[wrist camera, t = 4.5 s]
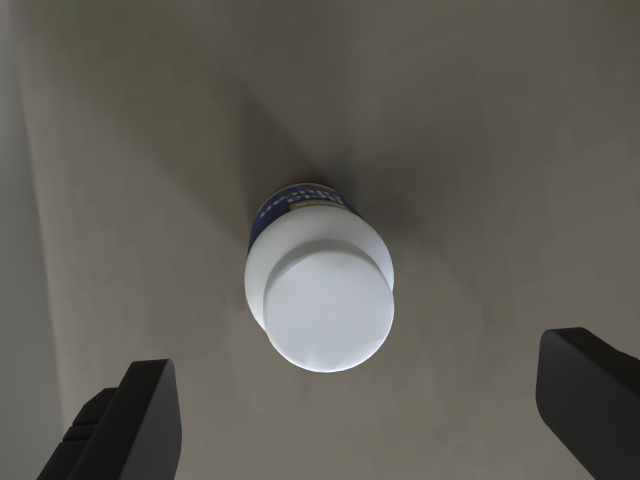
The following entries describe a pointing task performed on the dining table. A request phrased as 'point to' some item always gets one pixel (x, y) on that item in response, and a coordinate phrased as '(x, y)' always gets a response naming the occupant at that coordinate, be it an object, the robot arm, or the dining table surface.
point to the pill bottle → (319, 279)
